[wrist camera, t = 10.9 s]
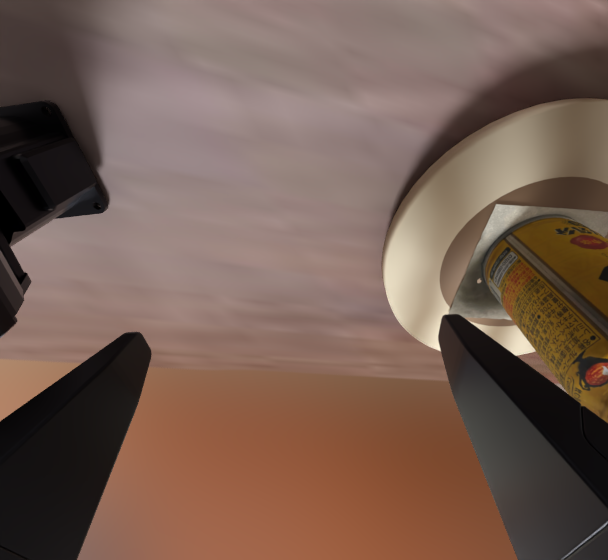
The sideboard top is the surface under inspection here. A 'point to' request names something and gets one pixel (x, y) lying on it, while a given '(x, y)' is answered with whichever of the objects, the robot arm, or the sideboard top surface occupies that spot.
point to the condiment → (548, 290)
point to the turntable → (490, 206)
